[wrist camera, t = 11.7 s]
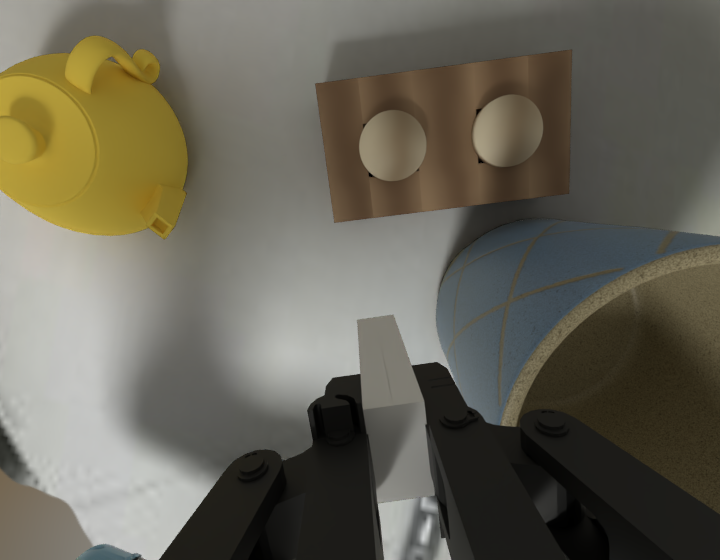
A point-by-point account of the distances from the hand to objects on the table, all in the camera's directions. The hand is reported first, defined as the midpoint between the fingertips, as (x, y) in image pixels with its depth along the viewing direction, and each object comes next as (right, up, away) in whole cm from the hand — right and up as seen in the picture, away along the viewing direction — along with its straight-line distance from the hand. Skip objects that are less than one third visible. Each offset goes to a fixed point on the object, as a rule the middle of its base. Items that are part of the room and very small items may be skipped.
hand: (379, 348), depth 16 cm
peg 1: (+2, +16, +24) cm, 29 cm away
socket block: (+7, +17, +24) cm, 30 cm away
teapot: (-24, +16, +24) cm, 38 cm away
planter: (+18, 0, +29) cm, 34 cm away
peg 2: (+12, +17, +24) cm, 32 cm away
